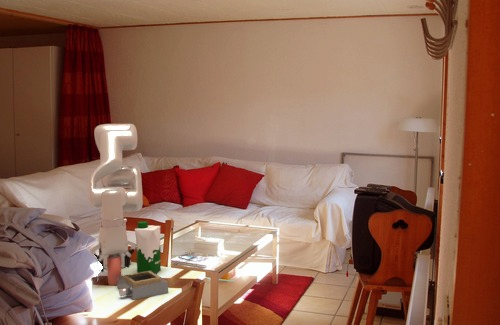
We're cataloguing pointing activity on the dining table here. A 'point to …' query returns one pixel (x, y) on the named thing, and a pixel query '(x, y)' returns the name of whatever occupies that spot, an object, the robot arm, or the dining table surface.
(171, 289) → the dining table surface
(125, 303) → the dining table surface
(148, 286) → the grey square socket base
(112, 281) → the oil can
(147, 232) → the milk carton
